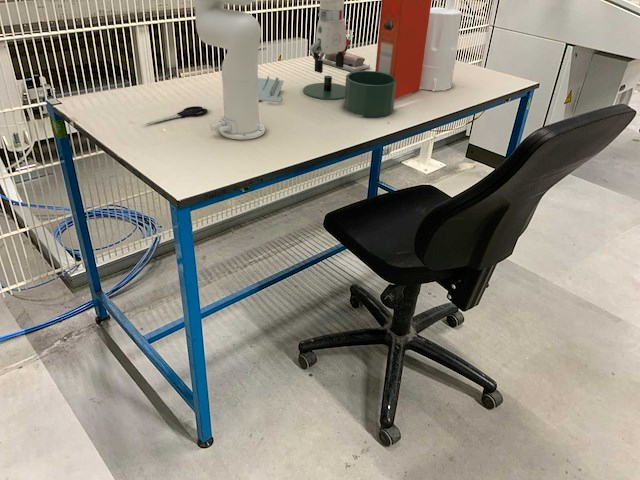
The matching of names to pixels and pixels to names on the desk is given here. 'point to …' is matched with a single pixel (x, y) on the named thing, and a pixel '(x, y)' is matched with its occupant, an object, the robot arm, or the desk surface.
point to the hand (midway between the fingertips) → (329, 69)
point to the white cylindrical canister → (440, 47)
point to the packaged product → (347, 62)
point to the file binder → (403, 42)
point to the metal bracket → (269, 89)
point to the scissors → (186, 113)
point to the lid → (325, 90)
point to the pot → (370, 93)
